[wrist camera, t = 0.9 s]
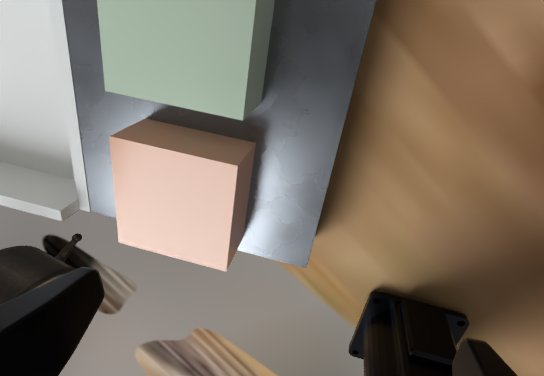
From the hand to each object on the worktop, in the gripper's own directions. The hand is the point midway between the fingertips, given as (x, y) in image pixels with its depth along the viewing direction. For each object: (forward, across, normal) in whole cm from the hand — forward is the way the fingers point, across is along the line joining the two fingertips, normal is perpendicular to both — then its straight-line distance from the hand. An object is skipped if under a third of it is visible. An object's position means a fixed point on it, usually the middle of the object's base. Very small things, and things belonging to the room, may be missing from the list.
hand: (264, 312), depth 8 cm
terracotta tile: (+10, +6, +2) cm, 12 cm away
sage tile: (+10, +5, -6) cm, 13 cm away
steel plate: (+13, +6, -2) cm, 14 cm away
